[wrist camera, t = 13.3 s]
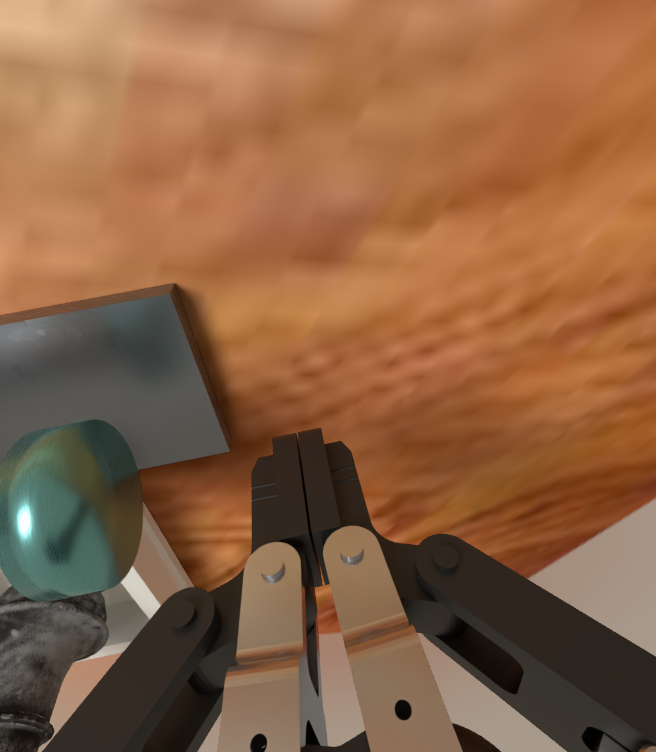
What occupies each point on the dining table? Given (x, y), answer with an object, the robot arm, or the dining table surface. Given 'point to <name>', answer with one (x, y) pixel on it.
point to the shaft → (69, 511)
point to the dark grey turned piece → (41, 659)
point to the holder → (138, 588)
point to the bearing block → (111, 375)
